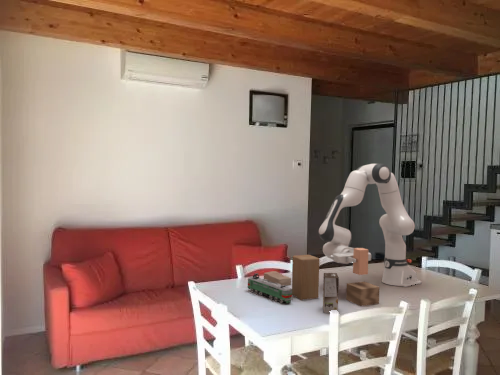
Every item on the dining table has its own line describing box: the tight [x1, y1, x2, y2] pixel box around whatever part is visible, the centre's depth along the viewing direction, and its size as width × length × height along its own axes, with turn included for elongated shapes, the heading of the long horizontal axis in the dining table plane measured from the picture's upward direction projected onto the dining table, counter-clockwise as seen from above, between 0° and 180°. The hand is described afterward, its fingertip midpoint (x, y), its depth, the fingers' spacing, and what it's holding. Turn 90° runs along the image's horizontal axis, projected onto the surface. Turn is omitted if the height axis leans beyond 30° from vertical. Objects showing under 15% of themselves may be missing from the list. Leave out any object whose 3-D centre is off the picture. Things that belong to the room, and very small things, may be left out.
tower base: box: [345, 280, 380, 307], centre depth 208 cm, size 11×11×8 cm
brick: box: [263, 270, 292, 287], centre depth 241 cm, size 17×8×5 cm, turn 31°
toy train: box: [247, 272, 293, 304], centre depth 214 cm, size 5×31×10 cm, turn 39°
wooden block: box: [291, 254, 320, 301], centre depth 215 cm, size 10×10×20 cm
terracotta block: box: [352, 247, 369, 276], centre depth 209 cm, size 5×5×12 cm
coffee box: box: [322, 272, 340, 314], centre depth 195 cm, size 9×6×16 cm
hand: (361, 260), depth 209 cm, fingers closed on terracotta block, 5 cm apart
